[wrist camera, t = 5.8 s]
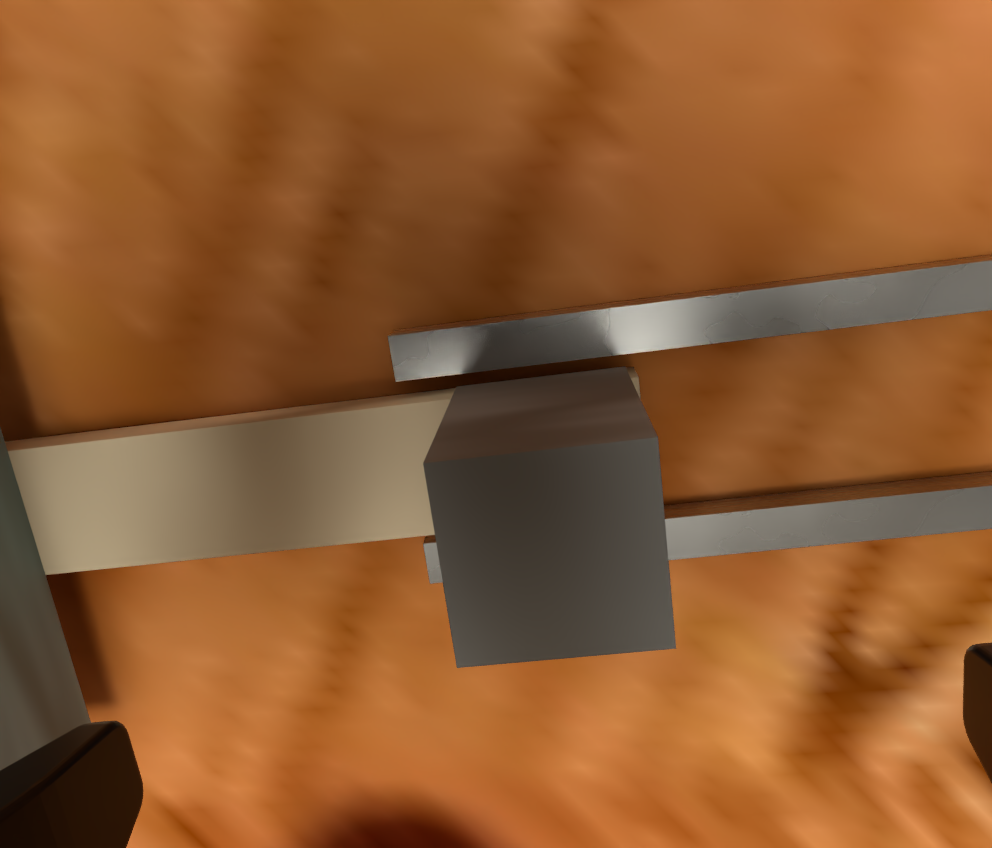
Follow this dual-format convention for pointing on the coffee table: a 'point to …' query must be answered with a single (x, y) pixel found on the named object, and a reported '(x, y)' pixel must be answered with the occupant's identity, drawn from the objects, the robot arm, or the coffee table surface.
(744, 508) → the track
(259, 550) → the kicker
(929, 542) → the coffee table surface
